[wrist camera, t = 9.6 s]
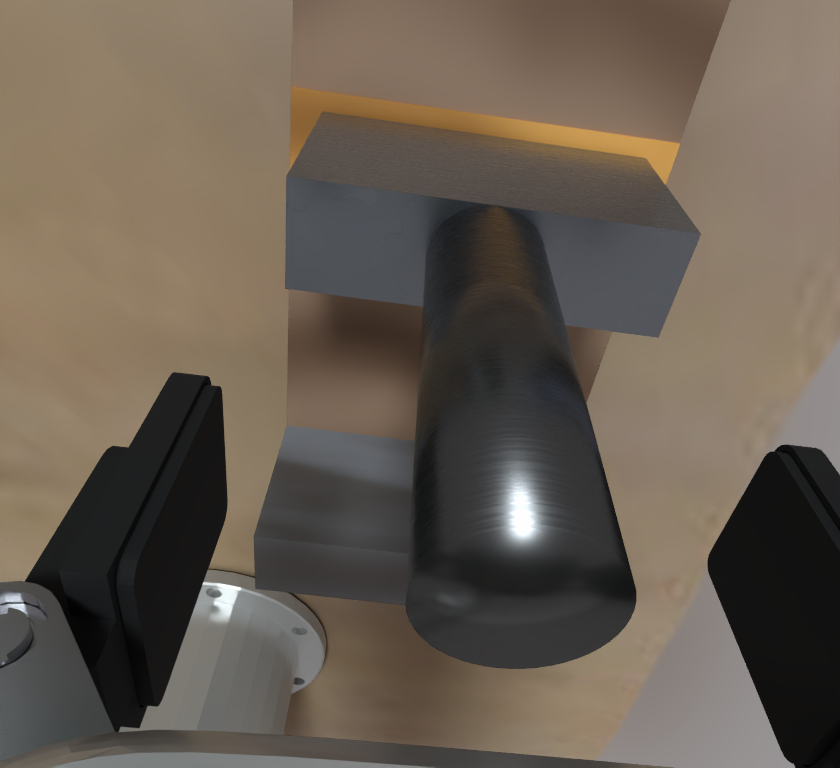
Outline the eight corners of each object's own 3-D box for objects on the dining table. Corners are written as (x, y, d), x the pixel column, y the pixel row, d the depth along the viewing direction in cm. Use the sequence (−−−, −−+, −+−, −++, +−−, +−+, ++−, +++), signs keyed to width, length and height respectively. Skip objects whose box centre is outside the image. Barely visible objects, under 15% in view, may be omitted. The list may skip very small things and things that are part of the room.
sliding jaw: (616, 247, 22) (828, 702, 10) (318, 205, 22) (147, 631, 9) (645, 158, 21) (949, 576, 8) (322, 111, 20) (116, 482, 8)
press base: (543, 475, 32) (567, 622, 26) (294, 445, 32) (255, 588, 25) (794, -266, 17) (1011, -359, 10) (313, -353, 16) (225, -509, 10)
